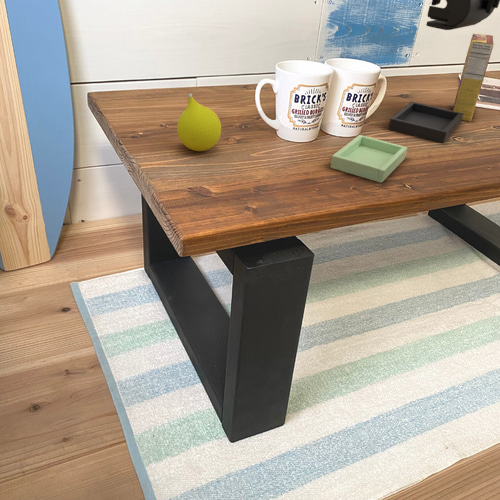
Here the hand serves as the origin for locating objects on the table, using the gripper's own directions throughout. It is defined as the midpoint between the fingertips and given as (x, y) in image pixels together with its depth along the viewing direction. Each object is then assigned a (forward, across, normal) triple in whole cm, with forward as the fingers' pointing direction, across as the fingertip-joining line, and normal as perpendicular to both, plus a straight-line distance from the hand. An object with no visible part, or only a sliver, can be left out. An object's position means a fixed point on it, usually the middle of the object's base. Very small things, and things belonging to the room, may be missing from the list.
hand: (461, 7), depth 85 cm
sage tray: (+22, +4, +21) cm, 31 cm away
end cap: (+3, 0, 0) cm, 3 cm away
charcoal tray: (+22, +2, -4) cm, 22 cm away
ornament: (+22, +29, +34) cm, 50 cm away
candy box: (+22, -3, -16) cm, 28 cm away
